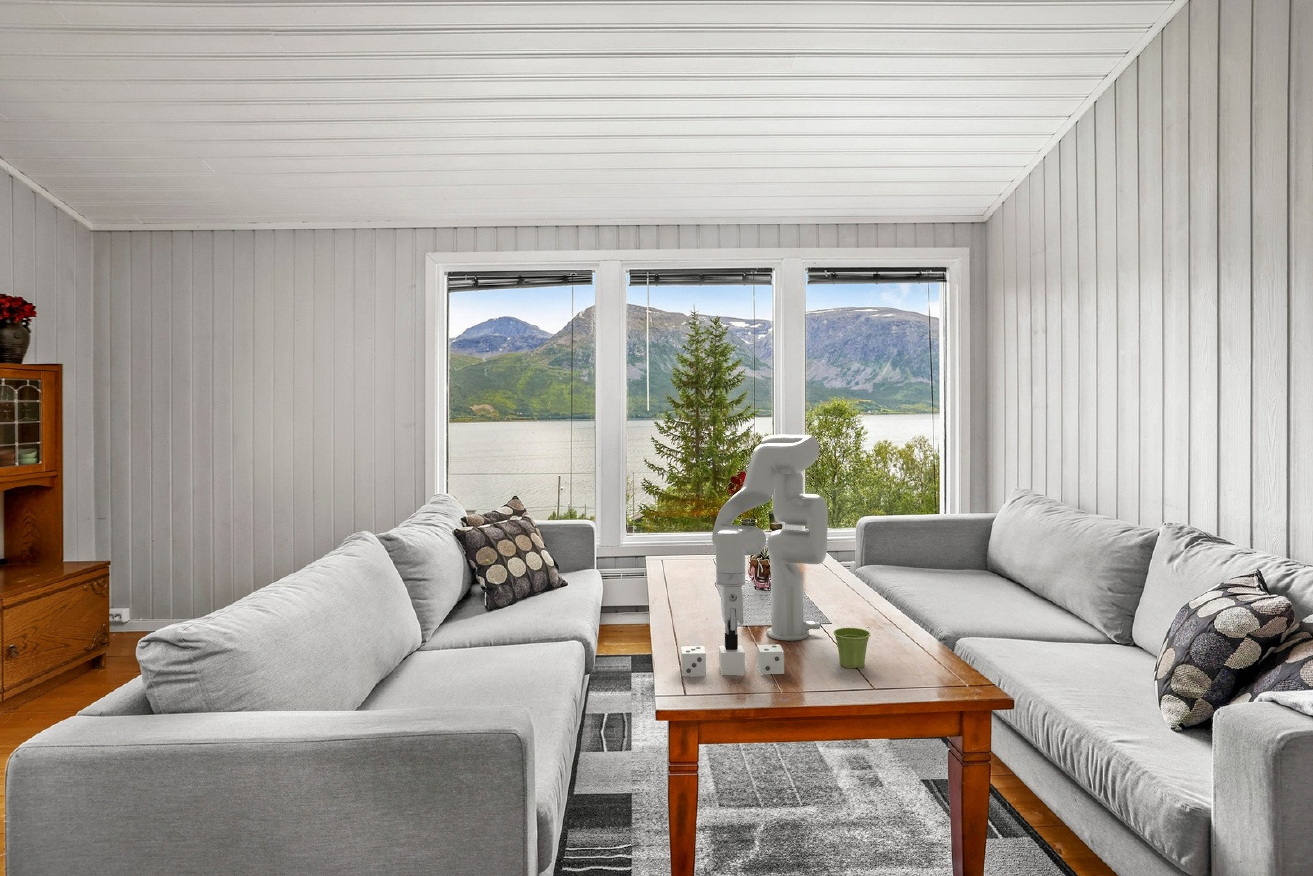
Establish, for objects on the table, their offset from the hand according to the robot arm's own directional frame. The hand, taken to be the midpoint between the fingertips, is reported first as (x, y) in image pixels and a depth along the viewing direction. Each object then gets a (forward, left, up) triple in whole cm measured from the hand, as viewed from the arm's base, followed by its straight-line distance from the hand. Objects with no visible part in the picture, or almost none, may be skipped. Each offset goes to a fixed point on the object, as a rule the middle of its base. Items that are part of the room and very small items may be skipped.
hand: (731, 648), depth 201 cm
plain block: (0, 0, -6) cm, 6 cm away
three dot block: (+10, 0, -6) cm, 12 cm away
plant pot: (-32, -3, -6) cm, 33 cm away
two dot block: (-10, 0, -6) cm, 12 cm away
